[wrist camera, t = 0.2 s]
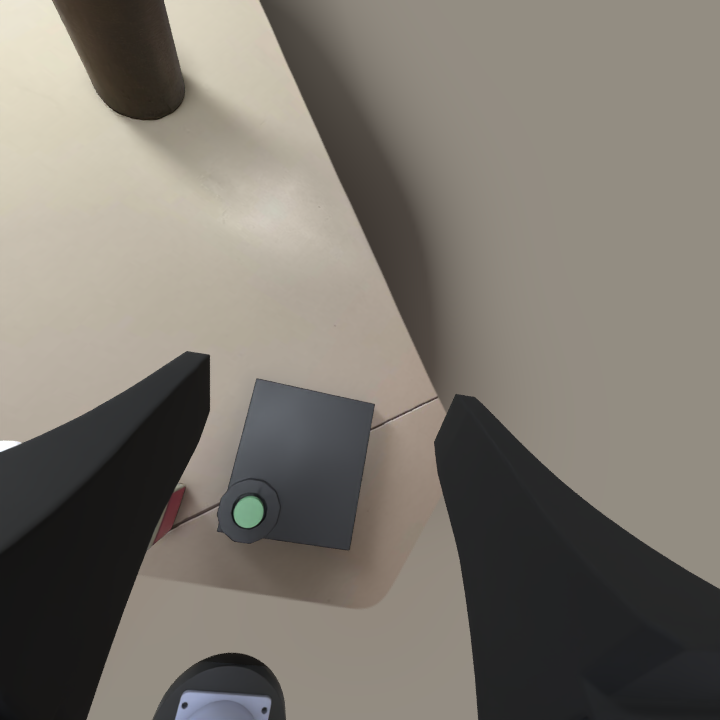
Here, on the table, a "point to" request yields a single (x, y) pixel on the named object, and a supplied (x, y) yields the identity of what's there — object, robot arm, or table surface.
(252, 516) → the button
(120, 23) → the pillar candle
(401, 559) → the table surface
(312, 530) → the scale
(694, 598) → the robot arm
